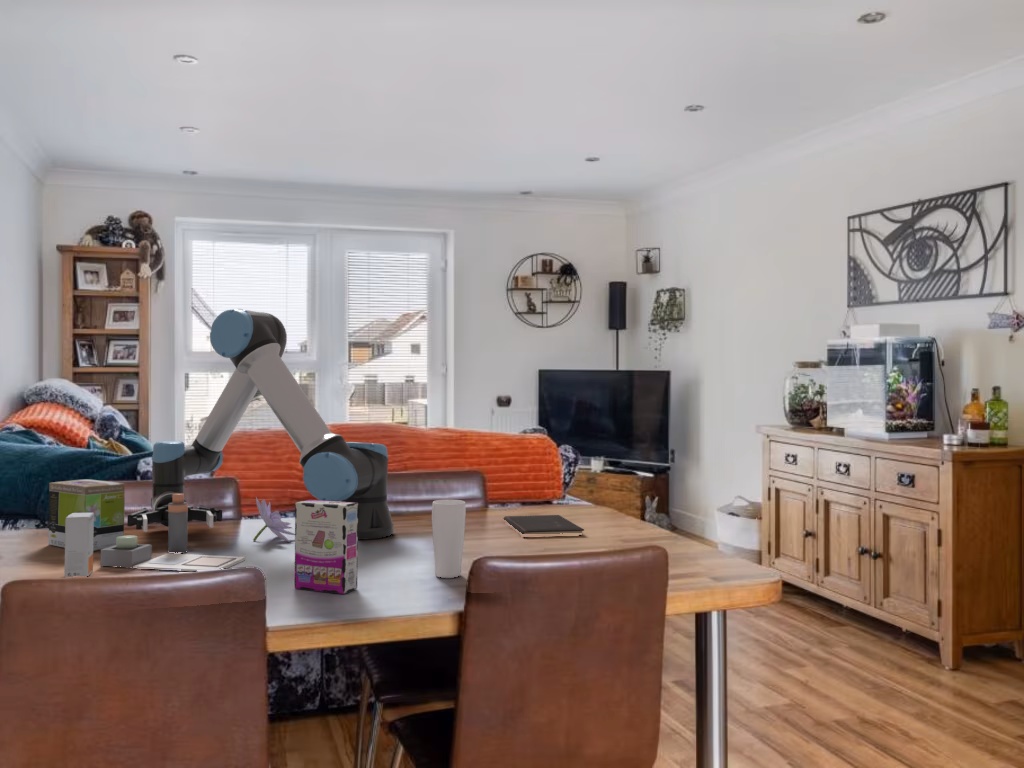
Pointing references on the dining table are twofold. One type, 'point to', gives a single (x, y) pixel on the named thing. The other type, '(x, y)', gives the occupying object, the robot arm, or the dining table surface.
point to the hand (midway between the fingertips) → (179, 523)
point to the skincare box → (79, 544)
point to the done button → (126, 542)
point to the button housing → (126, 556)
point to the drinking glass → (448, 536)
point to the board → (190, 562)
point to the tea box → (87, 509)
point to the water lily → (272, 521)
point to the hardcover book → (542, 524)
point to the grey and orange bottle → (177, 524)
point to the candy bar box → (326, 546)
